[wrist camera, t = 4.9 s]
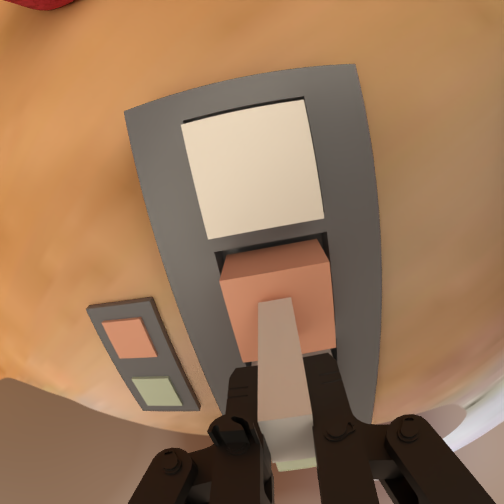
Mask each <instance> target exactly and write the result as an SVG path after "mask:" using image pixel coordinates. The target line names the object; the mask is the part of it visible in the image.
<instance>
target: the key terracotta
mask: <svg viewBox="0 0 504 504" xmlns="http://www.w3.org/2000/svg"><path fill="white" fill-rule="evenodd" d="M219 282H220V286H221V289H222V293H223V297H224V300H225V304H226V307H227V311H228V314H229V318H230V321H231V325H232V328H233V331H234V335H235V338H236V341H237V345H238V348H239V352H240V355H241V358H242V361H243V363H245V362H253V361H258V303H259V302H265V301H271V300H277V299H283V298H288V297H291V300H292V305H293V310H294V315H295V320H296V325H297V331H298V336H299V341H300V347H301V352H302V354H305V353H311V352H316V351H321V350H326V349H331V348H336V336H335V320H334V306H333V293H332V282H331V272H330V262H329V260H328V258H327V256H326V254H325V252H324V251H323V249H322V247H321V245H320V243H319V242H318V240H317V239H312V240H307V241H301V242H296V243H290V244H285V245H279V246H274V247H268V248H262V249H257V250H251V251H246V252H240V253H235V254H229V255H226V259H225V262H224V266H223V269H222V273H221V276H220V280H219Z"/></svg>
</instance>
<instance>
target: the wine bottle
mask: <svg viewBox="0 0 504 504" xmlns="http://www.w3.org/2000/svg"><path fill="white" fill-rule="evenodd" d="M5 1H8V2H11V3H15V4H18V5H21V6H24V7H28V8H31V9H36V10H52V9H56V8H59V7H62V6H64V5H66V4H68V3H71V2H72V1H74V0H5Z"/></svg>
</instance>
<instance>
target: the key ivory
mask: <svg viewBox="0 0 504 504" xmlns="http://www.w3.org/2000/svg"><path fill="white" fill-rule="evenodd" d="M181 128H182V133H183V137H184V142H185V146H186V151H187V155H188V160H189V164H190V168H191V172H192V177H193V181H194V185H195V189H196V193H197V198H198V202H199V206H200V210H201V214H202V218H203V222H204V226H205V229H206V233H207V237H208V240H209V239H214V238H220V237H225V236H230V235H235V234H241V233H246V232H251V231H257V230H262V229H268V228H273V227H279V226H284V225H290V224H295V223H301V222H307V221H312V220H318V219H324V212H323V205H322V198H321V191H320V185H319V179H318V172H317V166H316V160H315V155H314V149H313V144H312V138H311V133H310V128H309V123H308V118H307V113H306V108H305V103H304V100H298V101H291V102H284V103H278V104H272V105H266V106H260V107H255V108H250V109H245V110H240V111H235V112H230V113H226V114H221V115H217V116H213V117H209V118H205V119H201V120H197V121H193V122H189V123H186V124H182V125H181Z"/></svg>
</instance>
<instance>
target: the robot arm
mask: <svg viewBox="0 0 504 504" xmlns="http://www.w3.org/2000/svg"><path fill="white" fill-rule="evenodd" d="M207 432H208V434H209V436H210V437H211V439H212V441H213V443H214V444H213V445H212V446H210V447H208V448H205V449H202V450H198V451H195V452H191V453H187V452H186V451H184V450H182V449H180V448H169V449H165V450H163V451H161V452H159V453H158V454H157V455H156V456H155V458H154V459H153V460H152V462H151V464H150V466H149V467H148V469H147V471H146V473H145V475H144V476H143V478H142V480H141V481H140V483H139V485H138V487H137V488H136V490H135V492H134V494H133V496H132V497H131V499H130V500H129V502H128V504H274V477H273V474H272V470H271V460H272V463H277V462H286V461H294V460H301V459H307V458H313V457H316V463H317V473H318V480H319V488H320V496H321V504H379V500H378V497H377V492H376V488H375V484H374V480H373V479H379V481H380V482H381V484H382V485H383V487H384V489H385V490H386V492H387V493H388V495H389V497H390V498H391V500H392V502H393V503H394V504H496V503H495V502H494V501H493V499H492V498H491V497H490V496H489V495H488V493H487V492H486V491H485V490H484V488H483V487H482V486H481V485H480V484H479V482H478V481H477V480H476V479H475V478H474V476H473V475H472V474H471V473H470V471H469V470H468V469H467V468H466V467H465V466H464V464H463V463H462V462H461V461H460V459H459V458H458V457H457V456H456V455H455V453H454V452H453V451H452V450H451V449H450V448H449V446H448V445H447V444H446V443H445V442H444V440H443V439H442V438H441V437H440V436H439V435H438V434H437V432H436V431H435V430H434V429H433V428H432V426H431V425H430V424H429V423H428V422H427V421H426V420H425V419H424V418H422V417H421V416H417V415H414V414H409V415H403V416H400V417H397V418H396V419H395V420H394V421H392V422H391V424H390V425H373V424H367V423H364V422H361V421H360V420H358V419H357V418H356V417H355V416H354V415H353V413H352V411H351V408H350V405H349V401H348V398H347V394H346V391H345V388H344V384H343V381H342V378H341V374H340V372H339V368H338V365H337V361H336V360H335V359H334V358H333V357H332V356H331V355H330V354H329V353H323V354H318V355H313V356H307V357H302V352H301V347H300V341H299V336H298V331H297V325H296V320H295V315H294V310H293V305H292V300H291V297H288V298H283V299H277V300H271V301H265V302H259V303H258V365H256V366H248V367H240V368H235V370H234V371H233V373H232V374H231V376H230V378H229V385H228V394H227V403H226V412H225V415H222V416H220V417H219V418H217V419H215V420H214V421H213V422H212V423H211V424H210V426H209V429H208V431H207Z"/></svg>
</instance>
